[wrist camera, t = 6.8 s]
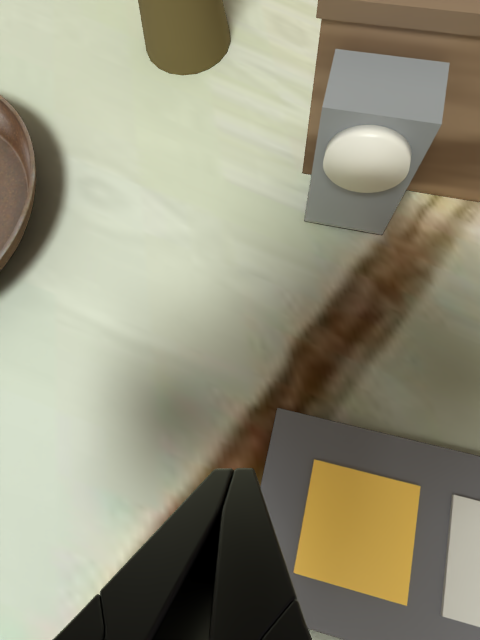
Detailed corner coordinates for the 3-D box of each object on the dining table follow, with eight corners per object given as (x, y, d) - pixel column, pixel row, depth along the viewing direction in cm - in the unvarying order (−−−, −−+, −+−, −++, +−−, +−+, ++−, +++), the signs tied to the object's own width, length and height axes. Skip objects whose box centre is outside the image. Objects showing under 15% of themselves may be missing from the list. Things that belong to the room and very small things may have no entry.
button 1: (380, 244, 23) (439, 137, 15) (302, 229, 24) (319, 119, 16) (389, 190, 24) (449, 62, 16) (313, 177, 25) (335, 48, 17)
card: (613, 717, 17) (627, 728, 16) (235, 602, 19) (234, 607, 18) (611, 488, 19) (623, 490, 19) (277, 408, 21) (277, 407, 21)
